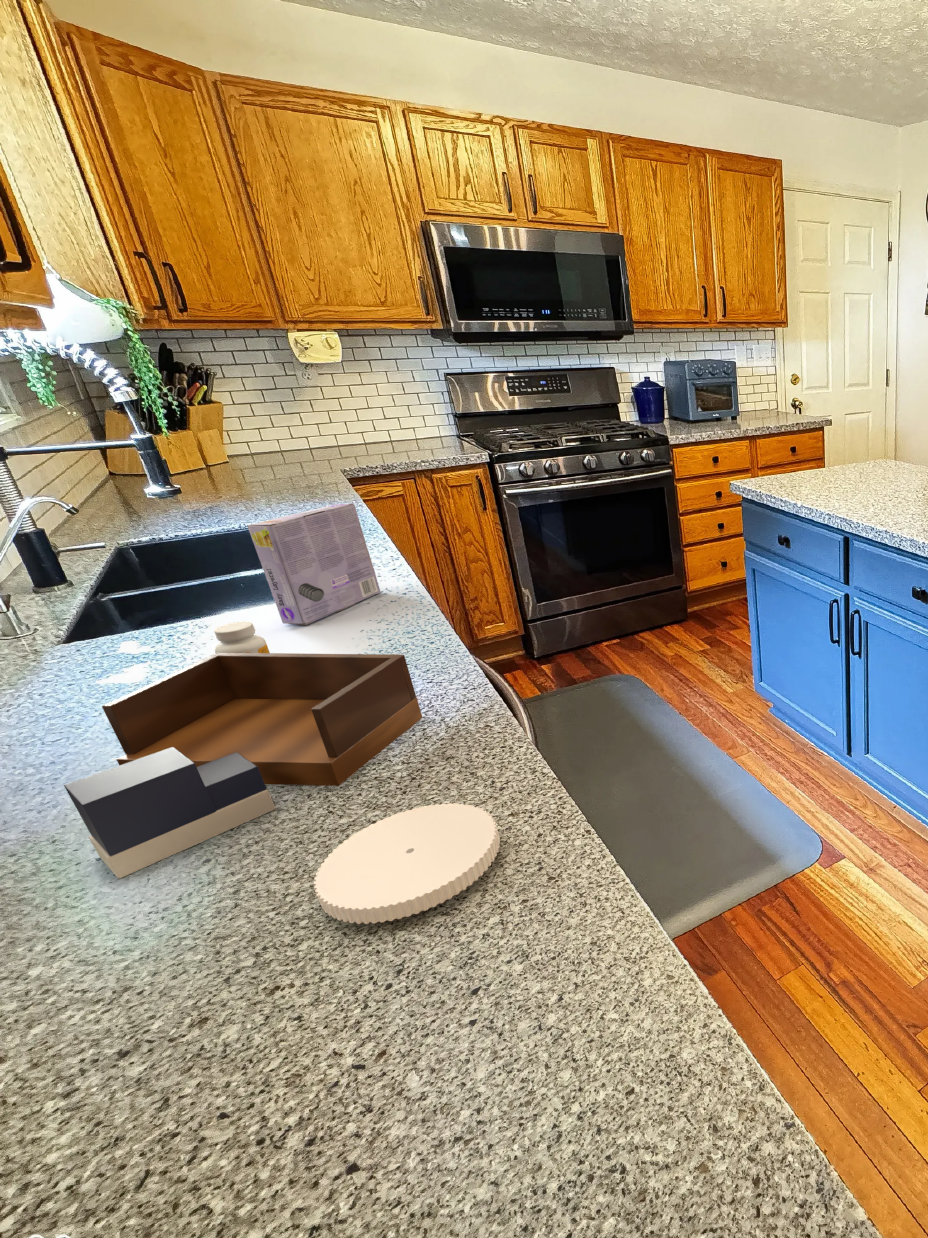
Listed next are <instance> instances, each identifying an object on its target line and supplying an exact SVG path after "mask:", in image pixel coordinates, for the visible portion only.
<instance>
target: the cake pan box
mask: <svg viewBox="0 0 928 1238" xmlns="http://www.w3.org/2000/svg"><path fill="white" fill-rule="evenodd" d="M247 530H248V532H249V535H250V537H251V540H252V543H253V545H254V549H255V551H256V554H257V556H258V559H259V562H260V565H261V568H262V570H263V573H264V576H265V578H266V581H267V584H268V586H269V589H270V592H271V595H272V597H273V600H274V602H275V605H276V606H275V607H276V609H277V611H278V614H279V617H280V619H281V622H282V624H285V625H298V626H307V625H309V624H312V623H314V622H317V621H318V620H321V619H323V618H325V617H328V616H331V615H332V614H334V613H338V612H341V611H343V610H345V609H347V608H350V607H352V606H355V604H357V603H359V602H362V601H364V600H366V599H368V598H372V597H373V596H375V595H378V594H380V593H381V589H380V585H379V582H378V578H377V574H376V571H375V568H374V565H373V561H372V558H371V556H370V553H369V548H368V545H367V542H366V538H365V535H364V532H363V529H362V524H361V522H360V518H359V515H358V511H357V509H356V504H354V502H352V503H350V502H349V503H338V504H330V505H326V506H322V507H318V508H315V509H314V508H313V509H310V510H306V511H301V512H297V513H293V514H292V513H291V514H287V515H284V516H280V517H276V518H272V519H269V520H263V521H259V522H255V523H251V524H247Z"/></svg>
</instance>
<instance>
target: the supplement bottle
mask: <svg viewBox="0 0 928 1238" xmlns="http://www.w3.org/2000/svg"><path fill="white" fill-rule="evenodd" d="M213 633H214V636H215V638H216V639H217V641H219V643H218V644H217V645H216V646H215V648H214V652H215V653H214V654H216V653H271V652H270V649H269V646H268V644H267V641H266V639H264V637H262V636H260V635H257V634H256V628H255V625H254V624H253V622H252V621H235V622H230V623H225V624H222V625H220V626H218V627H215V629H214V630H213Z"/></svg>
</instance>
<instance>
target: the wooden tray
mask: <svg viewBox="0 0 928 1238" xmlns="http://www.w3.org/2000/svg"><path fill="white" fill-rule="evenodd" d="M407 663H408V662H407V660H406V657H405V654H391V653H390V654H389V653H387V654H386V653H385V654H383V653H381V654H380V653H378V654H375V653H294V652H293V653H291V652H290V653H289V652H288V653H283V652H281V653H279V652H278V653H277V652H270V653H214V654H212V655H209V656H206V657H205V658H202V659H201V660H198V661H197V662H194V663H192V664H190V665H187V666H185V667H183V668H181V669H179V670H177V671H175V672H173V673H170V674H168V675H166V676H164V677H162V678H159V679H158V680H155V681H153V682H151V683H148V684H146V685H144V686H142V687H140V688H138V689H136V690H134V691H132V692H129V693H127V694H125V695H123V696H121V697H118V698H116V699H114V700H112V701H109V702H108V703H105V704H104V705H101V708H102V710H103V712H104V715H105V717H106V718H107V721H108V722H109V724H110V727H111V729H112V730H113V732H114V734H115V736H116V738H117V740H118V743H119V744H120V746H121V748H122V751H123V752H124V755H121V756H120V757H118V758H117V759H116V761H117V764H118V766H120V765H123V764H125V763H128V762H131V761H134V760H137V759H140V758H142V757H145V756H148V755H151V754H154V753H157V752H160V751H162V750H165V749H168V748H171V747H174V748H175V749H177V750H178V751H179V752H181V753H182V754H183V755H185V756H186V757H187V758H188V759H190V760H191V761H192V762H194V763H195V765H196V767H198V766H201V765H203V764H206V763H209V762H211V761H214V760H217V759H219V758H222V757H225V756H227V755H230V754H233V753H235V752H237V753H239V754H240V755H242V756H243V757H244V758H246V759H247V760H249V761H250V762H252V763H253V764H255V765H256V766H257V767H258V769H259V771H260V774H261V776H262V778H263V781H264V783H265V786H267V785H268V786H269V785H271V786H318V787H319V786H320V787H321V786H324V787H326V786H327V787H329V786H330V787H337V786H338V787H339V786H340V785H342V784H343V783H345V782H346V781H347V780H348V779H349V778H351V776H353V775H354V774H355V773H357V772H358V771H359V770H360V769H362V768H363V767H365V765H366V764H368V763H369V762H370V761H372V760H373V759H374V758H375V757H376V756H378V755H379V754H381V752H383V751H384V750H385V749H386V748H387V747H389V746H390V745H391V744H392V743H394V742H395V741H396V740H397V739H399V738H400V737H401V736H402V735H403V734H405V733H406V732H407V731H409V730H410V729H411V728H412V727H413V726H414V725H416V724H417V723H418V722H419V721H420V720H422V719H423V715H422V714H423V713H422V711H421V708H420V705H419V700H418V697H417V694H416V690H415V688H414V684H413V681H412V677H411V674H410V670H409V666H408V664H407Z"/></svg>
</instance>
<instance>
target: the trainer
mask: <svg viewBox="0 0 928 1238" xmlns="http://www.w3.org/2000/svg"><path fill="white" fill-rule="evenodd" d="M63 787H64V789H65V790H66V792H67V794H68V795H69V798H70V799H71V801H72V803H73V805H74V807H75V809H76V810H77V812H78V814H79V816H80V817H81V819H82V821H83V823H84V825H85V827H86V829H87V830H88V833H89V834H90V835H89V836H88V839H89V841H90V843H91V844H92V846H93V848H94V850H95V852H96V853H97V855H98V857H99V858H100V859H101V861H102V862H103V863H104V864H105V865H106V866H107V867H108V869H109V870H110V871H111V872H112V873H113V874H114V876H116V878H117V879H120V880H121V879H122V878H125V877H126V876H128V875H131V874H133V873H136V872H139V871H140V870H142V869H144V868H147V867H150V866H151V865H154V864H156V863H158V862H160V861H163V860H165V859H167V858H169V857H172V856H174V855H176V854H178V853H180V852H183V851H186V850H188V849H189V848H191V847H194V846H196V845H198V844H201V843H203V842H206V841H207V840H210V839H212V838H214V837H217V836H219V835H221V834H223V833H225V832H228V831H230V830H232V829H234V828H237V827H239V826H241V825H243V824H246V823H248V822H250V821H253V820H255V819H257V818H259V817H262V816H264V815H266V814H268V813H270V812H273V811H275V810H277V809H276V806H275V804H274V801H273V799H272V796H271V794H270V791H269V790H268V789H267V785H265V783H264V781H263V778H262V776H261V774H260V771H259V769H258V767H257V766H256V765H255V764H253V763H252V762H250V761H249V760H247V759H246V758H244V757H243V756H242V755H240V754H239V753H237V752H235V753H233V754H230V755H227V756H225V757H222V758H219V759H217V760H214V761H211V762H209V763H206V764H203V765H201V766H198V767H196V765H195V763H194V762H192V761H191V760H190V759H188V758H187V757H186V756H185V755H183V754H182V753H181V752H179V751H178V750H177V749H175V748H174V747H171V748H168V749H165V750H162V751H160V752H157V753H154V754H151V755H148V756H145V757H142V758H140V759H137V760H134V761H131V762H128V763H125V764H123V765H120V766H119V765H117V766H114V767H112V768H109V769H105V770H102V771H100V772H97V773H95V774H94V773H93V774H92V775H89V776H86V777H83V778H79V779H77V780H74V781H71V782H68V783H65V784H63Z"/></svg>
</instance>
